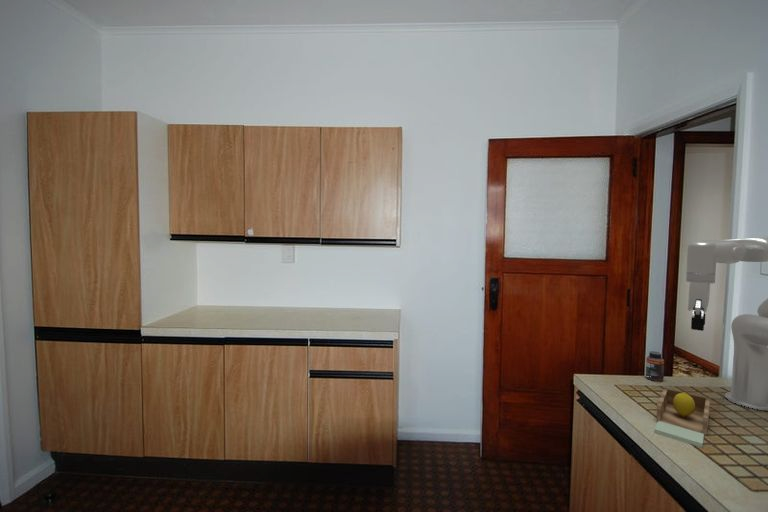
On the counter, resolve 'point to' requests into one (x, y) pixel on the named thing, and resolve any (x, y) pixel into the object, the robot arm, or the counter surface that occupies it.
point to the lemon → (684, 404)
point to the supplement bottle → (655, 366)
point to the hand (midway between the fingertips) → (698, 327)
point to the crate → (671, 416)
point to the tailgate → (679, 433)
